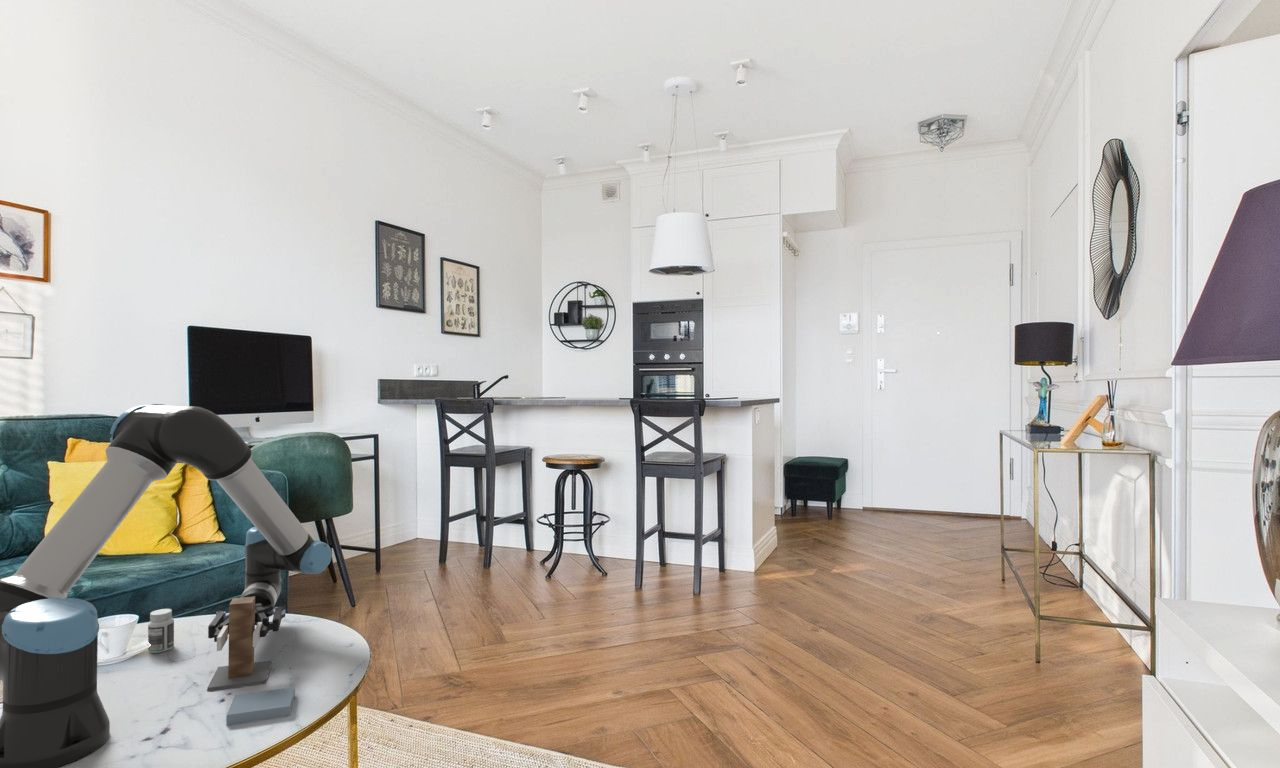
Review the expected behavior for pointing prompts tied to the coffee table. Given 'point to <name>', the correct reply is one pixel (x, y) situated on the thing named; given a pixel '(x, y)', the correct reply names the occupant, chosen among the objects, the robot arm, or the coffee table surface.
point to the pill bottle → (161, 631)
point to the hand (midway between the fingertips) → (237, 642)
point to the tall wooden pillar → (241, 637)
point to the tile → (260, 705)
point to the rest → (257, 677)
